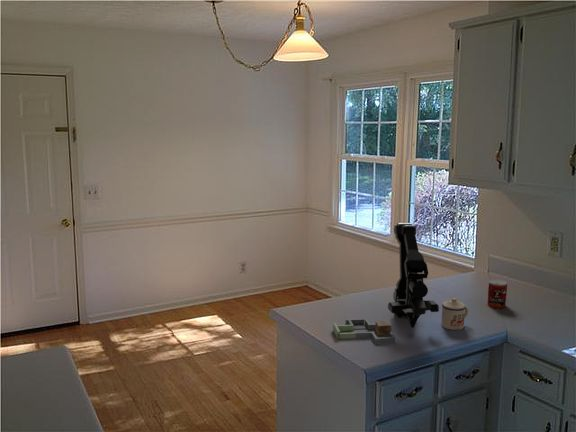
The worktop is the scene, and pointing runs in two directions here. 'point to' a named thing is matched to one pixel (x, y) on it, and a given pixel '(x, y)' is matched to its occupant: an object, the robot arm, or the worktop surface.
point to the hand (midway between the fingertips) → (412, 327)
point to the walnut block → (383, 327)
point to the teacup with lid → (453, 314)
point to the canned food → (497, 293)
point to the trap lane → (359, 324)
